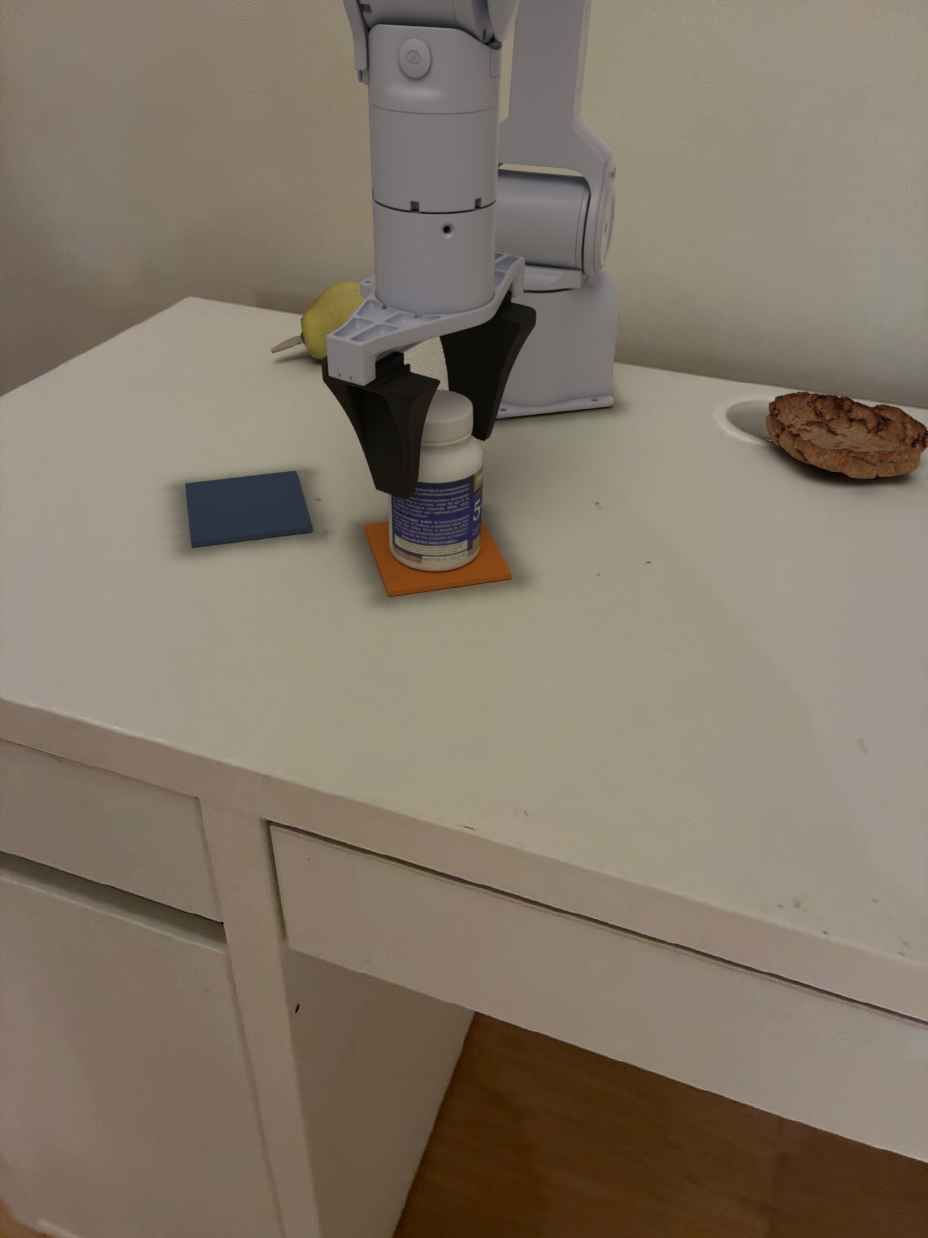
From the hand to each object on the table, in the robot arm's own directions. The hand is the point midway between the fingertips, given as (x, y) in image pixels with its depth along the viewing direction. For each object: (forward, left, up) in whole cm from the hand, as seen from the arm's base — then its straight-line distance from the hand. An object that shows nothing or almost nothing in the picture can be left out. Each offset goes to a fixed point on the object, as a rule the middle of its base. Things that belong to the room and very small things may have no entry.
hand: (435, 461), depth 54 cm
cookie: (-30, -5, -3) cm, 30 cm away
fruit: (+1, -29, -6) cm, 30 cm away
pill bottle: (0, 0, -6) cm, 6 cm away
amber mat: (0, 0, -6) cm, 6 cm away
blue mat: (+10, -7, -6) cm, 14 cm away
